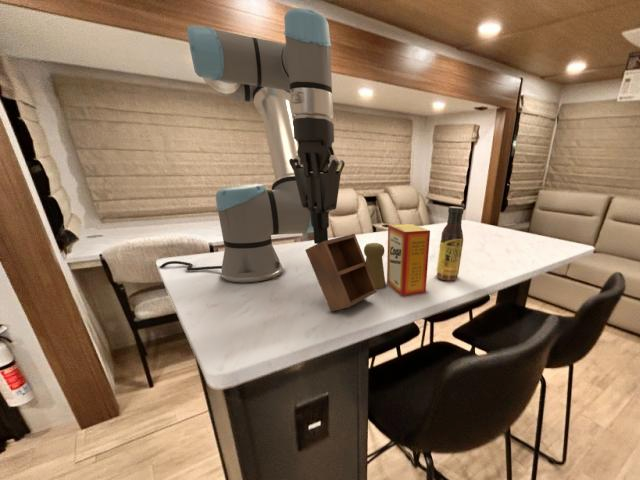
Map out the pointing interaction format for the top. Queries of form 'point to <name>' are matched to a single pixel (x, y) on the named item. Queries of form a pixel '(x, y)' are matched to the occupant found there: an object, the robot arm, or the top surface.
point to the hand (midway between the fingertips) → (321, 242)
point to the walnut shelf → (341, 271)
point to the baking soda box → (407, 258)
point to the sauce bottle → (451, 246)
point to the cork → (375, 263)
